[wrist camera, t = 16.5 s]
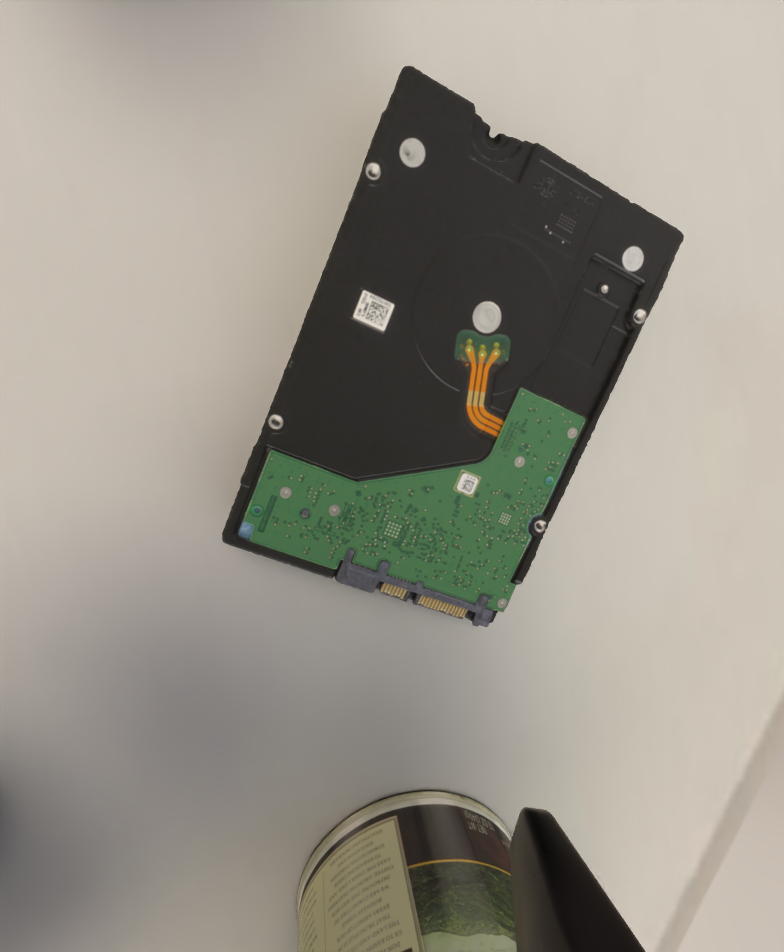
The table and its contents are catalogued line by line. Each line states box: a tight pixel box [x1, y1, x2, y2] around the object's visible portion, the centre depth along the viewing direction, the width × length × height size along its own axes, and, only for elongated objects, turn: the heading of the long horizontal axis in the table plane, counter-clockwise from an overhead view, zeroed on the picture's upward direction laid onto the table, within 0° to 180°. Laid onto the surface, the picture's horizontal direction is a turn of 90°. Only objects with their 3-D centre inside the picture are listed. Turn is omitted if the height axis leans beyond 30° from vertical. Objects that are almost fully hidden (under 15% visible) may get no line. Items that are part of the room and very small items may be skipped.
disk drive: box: [222, 66, 684, 627], centre depth 17 cm, size 10×3×15 cm
